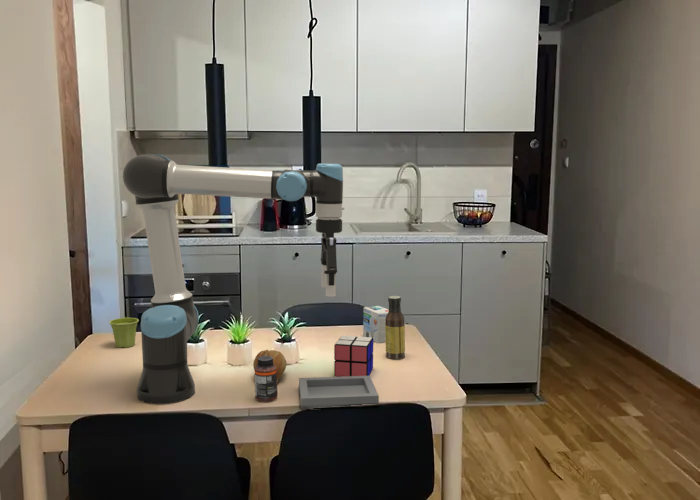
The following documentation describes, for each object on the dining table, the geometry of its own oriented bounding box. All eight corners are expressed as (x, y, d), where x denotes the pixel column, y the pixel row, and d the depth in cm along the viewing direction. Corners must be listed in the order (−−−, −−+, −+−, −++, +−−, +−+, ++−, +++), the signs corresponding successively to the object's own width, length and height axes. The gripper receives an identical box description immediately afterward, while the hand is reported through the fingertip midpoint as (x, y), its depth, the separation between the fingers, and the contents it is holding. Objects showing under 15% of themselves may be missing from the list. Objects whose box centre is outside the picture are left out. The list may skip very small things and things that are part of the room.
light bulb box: (362, 336, 242) (362, 307, 240) (378, 334, 245) (378, 305, 243) (377, 343, 233) (377, 313, 231) (394, 341, 236) (394, 311, 234)
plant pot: (105, 345, 228) (104, 320, 227) (130, 340, 235) (129, 316, 234) (119, 351, 222) (118, 325, 221) (145, 345, 229) (144, 320, 228)
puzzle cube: (367, 379, 196) (367, 346, 195) (334, 377, 198) (334, 344, 197) (373, 368, 206) (373, 337, 204) (341, 366, 208) (341, 335, 206)
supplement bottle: (265, 393, 184) (264, 353, 183) (282, 397, 181) (281, 356, 179) (250, 399, 179) (249, 358, 178) (267, 404, 176) (266, 362, 174)
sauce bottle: (399, 353, 221) (400, 294, 219) (408, 358, 216) (409, 297, 213) (381, 355, 219) (382, 295, 216) (390, 361, 213) (391, 299, 210)
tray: (301, 409, 172) (301, 398, 172) (298, 388, 188) (298, 377, 188) (378, 406, 175) (378, 395, 174) (369, 385, 190) (369, 375, 190)
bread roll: (252, 387, 189) (252, 359, 188) (254, 370, 204) (254, 344, 203) (286, 386, 190) (286, 358, 189) (286, 369, 205) (286, 343, 204)
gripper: (348, 222, 180) (346, 300, 183) (337, 214, 204) (336, 283, 207) (320, 222, 179) (319, 301, 182) (312, 214, 203) (311, 283, 206)
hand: (328, 291), depth 194 cm, fingers open, 13 cm apart
